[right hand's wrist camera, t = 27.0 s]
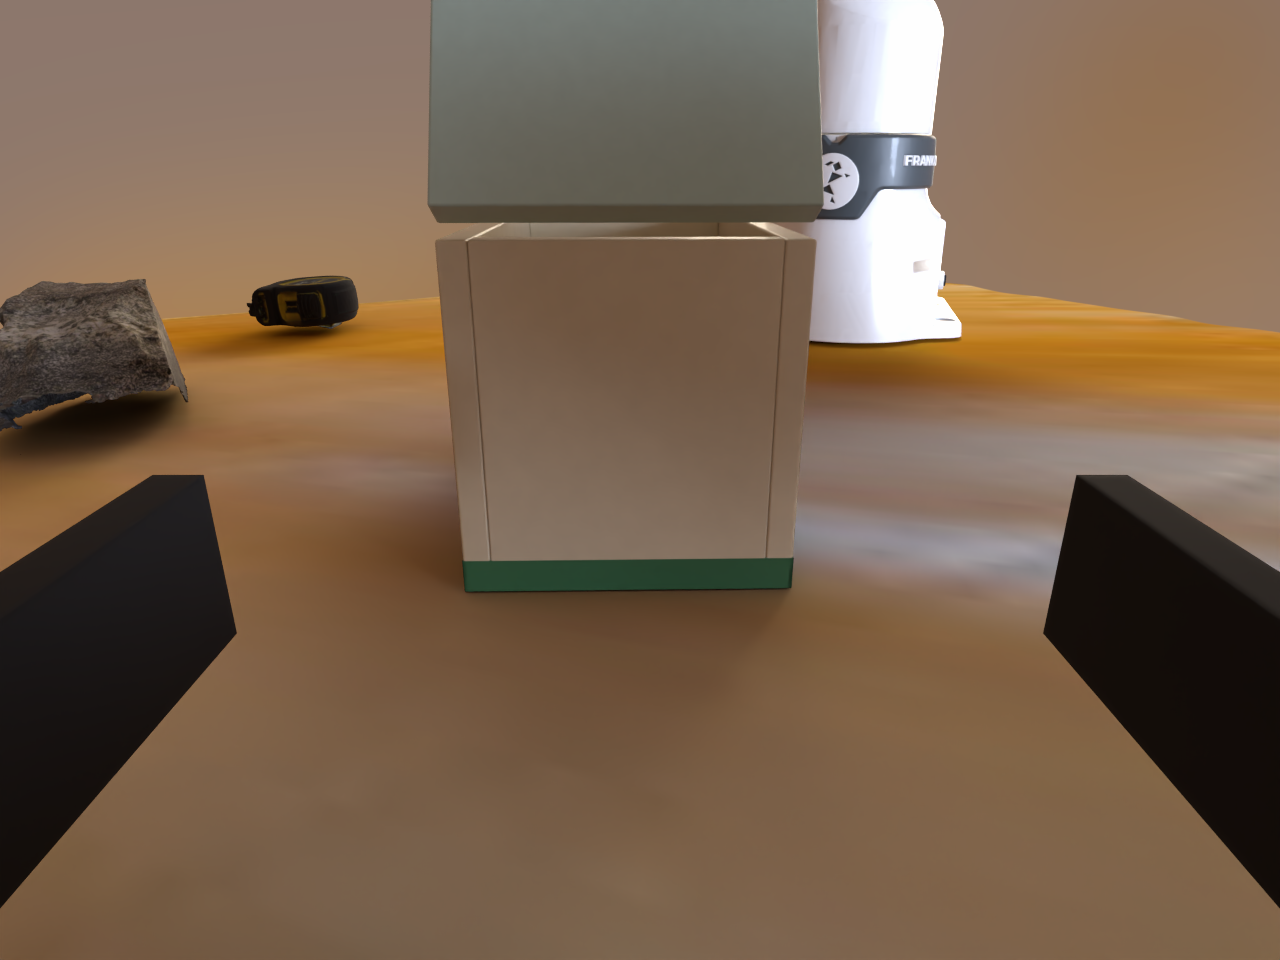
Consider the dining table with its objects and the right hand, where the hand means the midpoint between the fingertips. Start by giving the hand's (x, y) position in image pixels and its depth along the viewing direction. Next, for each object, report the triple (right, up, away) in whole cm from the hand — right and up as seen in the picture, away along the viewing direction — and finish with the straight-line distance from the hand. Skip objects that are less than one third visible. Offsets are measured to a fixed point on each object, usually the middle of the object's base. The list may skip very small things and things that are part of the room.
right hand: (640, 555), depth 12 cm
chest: (0, +1, +20) cm, 20 cm away
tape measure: (-26, +13, +52) cm, 60 cm away
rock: (-28, +4, +29) cm, 40 cm away
